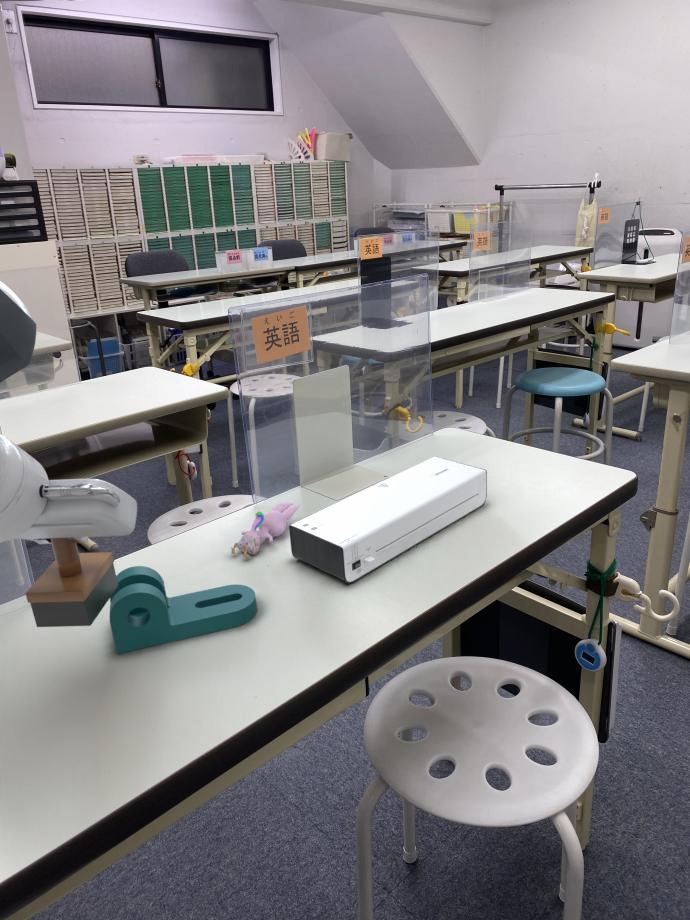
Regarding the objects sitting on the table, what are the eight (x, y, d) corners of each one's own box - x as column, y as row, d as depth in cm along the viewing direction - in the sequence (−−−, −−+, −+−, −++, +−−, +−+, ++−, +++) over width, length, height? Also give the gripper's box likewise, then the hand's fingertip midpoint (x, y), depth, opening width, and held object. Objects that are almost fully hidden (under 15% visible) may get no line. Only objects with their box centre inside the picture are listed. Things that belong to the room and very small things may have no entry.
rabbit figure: (257, 570, 103) (312, 516, 113) (248, 538, 100) (305, 486, 111) (226, 561, 106) (282, 509, 117) (216, 530, 103) (275, 479, 114)
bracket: (117, 654, 84) (104, 599, 81) (117, 624, 90) (105, 572, 87) (261, 620, 88) (254, 568, 86) (252, 594, 94) (245, 544, 92)
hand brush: (90, 627, 72) (60, 504, 67) (34, 628, 73) (0, 506, 68) (120, 584, 80) (95, 471, 75) (69, 586, 81) (40, 473, 75)
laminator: (434, 487, 124) (434, 455, 121) (492, 505, 115) (492, 471, 113) (292, 562, 102) (288, 524, 100) (350, 590, 94) (347, 550, 91)
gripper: (109, 454, 62) (161, 505, 74) (-103, 463, 64) (-17, 512, 76) (100, 520, 59) (155, 561, 72) (-121, 528, 61) (-29, 567, 74)
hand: (65, 536), depth 74 cm, fingers closed on hand brush, 2 cm apart
